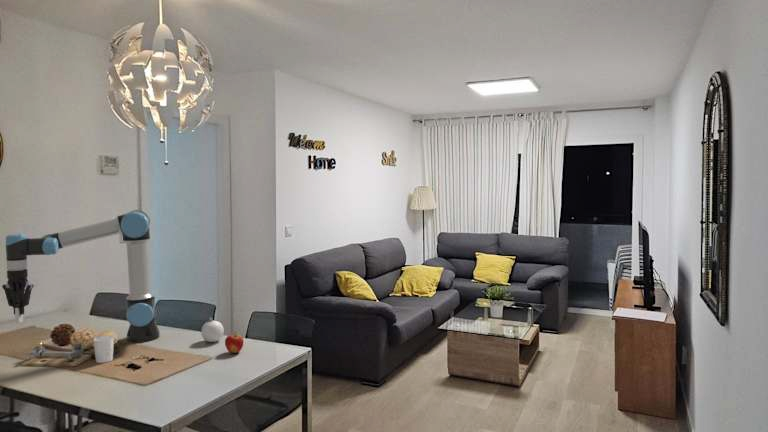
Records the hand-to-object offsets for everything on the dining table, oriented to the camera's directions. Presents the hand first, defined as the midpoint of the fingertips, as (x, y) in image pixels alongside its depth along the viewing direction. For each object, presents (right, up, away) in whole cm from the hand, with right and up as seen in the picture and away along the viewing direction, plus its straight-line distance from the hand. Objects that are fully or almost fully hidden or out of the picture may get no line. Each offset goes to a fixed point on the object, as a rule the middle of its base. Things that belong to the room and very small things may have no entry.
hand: (19, 321), depth 240 cm
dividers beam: (+18, -16, -2) cm, 24 cm away
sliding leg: (+8, -16, -1) cm, 18 cm away
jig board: (+19, -17, -3) cm, 25 cm away
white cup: (+39, -17, -1) cm, 42 cm away
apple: (+93, -16, +9) cm, 95 cm away
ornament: (+78, -15, +26) cm, 83 cm away
